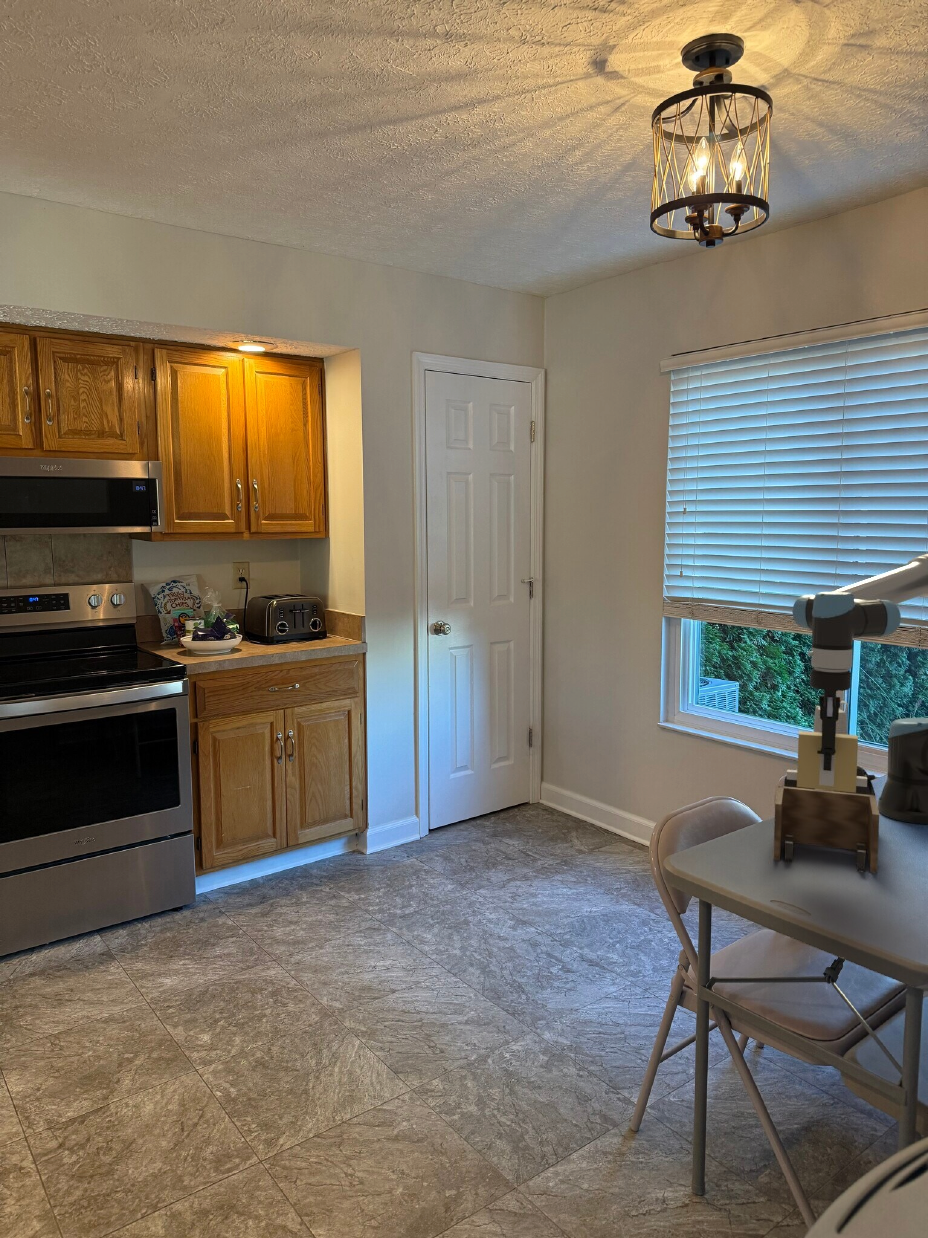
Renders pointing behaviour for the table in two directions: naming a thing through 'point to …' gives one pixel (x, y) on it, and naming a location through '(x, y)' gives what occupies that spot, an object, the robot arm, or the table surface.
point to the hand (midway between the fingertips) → (826, 782)
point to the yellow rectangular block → (844, 763)
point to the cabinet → (827, 822)
